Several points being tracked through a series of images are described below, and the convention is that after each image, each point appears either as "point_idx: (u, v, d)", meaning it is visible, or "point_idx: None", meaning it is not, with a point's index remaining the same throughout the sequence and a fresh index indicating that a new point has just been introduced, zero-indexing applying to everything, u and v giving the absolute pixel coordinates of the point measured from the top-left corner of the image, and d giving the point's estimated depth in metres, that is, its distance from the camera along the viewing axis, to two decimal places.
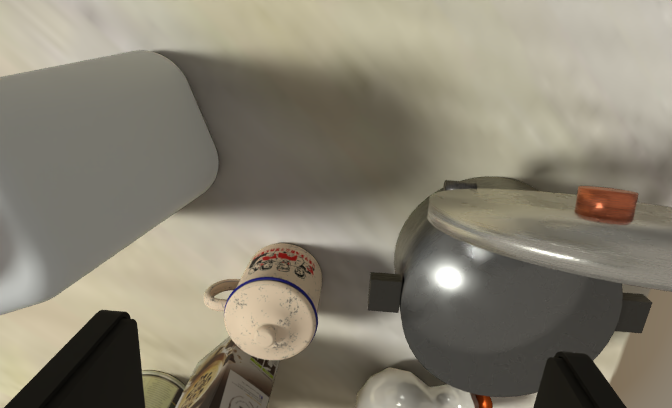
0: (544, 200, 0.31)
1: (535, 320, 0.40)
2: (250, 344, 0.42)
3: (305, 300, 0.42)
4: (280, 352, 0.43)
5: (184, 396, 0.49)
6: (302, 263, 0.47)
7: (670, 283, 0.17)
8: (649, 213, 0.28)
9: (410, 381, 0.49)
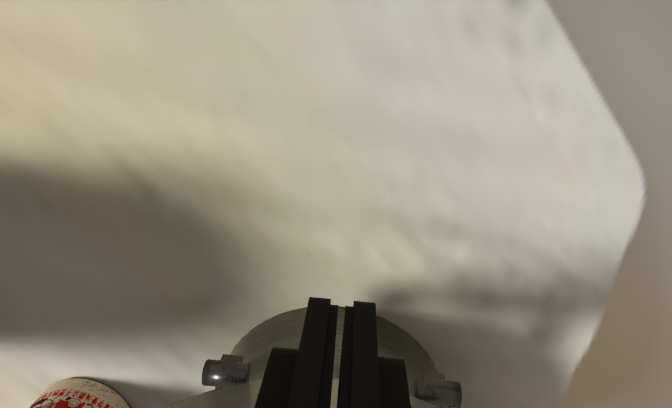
0: None
1: None
2: None
3: None
4: None
5: None
6: None
7: None
8: None
9: None
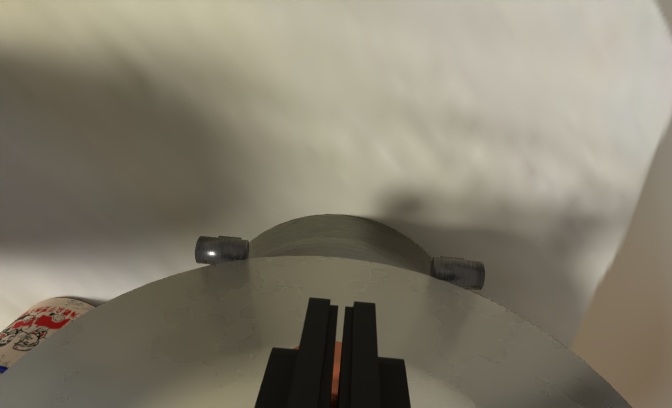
0: (295, 317, 0.18)
1: None
2: None
3: None
4: None
5: None
6: None
7: None
8: (449, 374, 0.15)
9: None
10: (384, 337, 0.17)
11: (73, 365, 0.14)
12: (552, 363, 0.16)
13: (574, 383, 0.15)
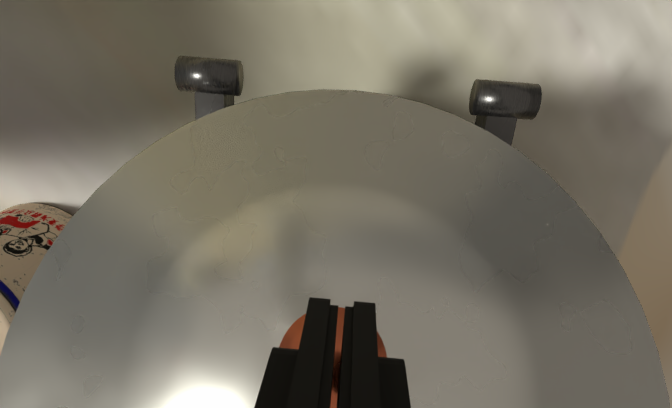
0: (300, 218, 0.15)
1: None
2: None
3: None
4: None
5: None
6: (41, 233, 0.29)
7: None
8: (466, 302, 0.14)
9: None
10: (401, 246, 0.15)
11: (75, 308, 0.14)
12: (587, 278, 0.15)
13: (602, 310, 0.14)
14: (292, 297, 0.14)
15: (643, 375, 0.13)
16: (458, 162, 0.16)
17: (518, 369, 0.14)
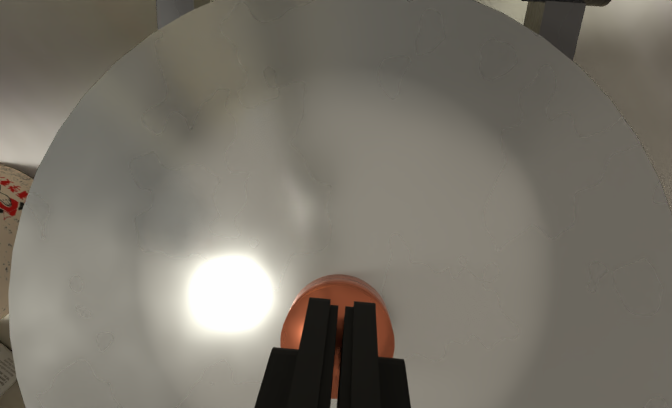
0: (300, 164, 0.13)
1: None
2: None
3: None
4: None
5: None
6: None
7: None
8: (485, 261, 0.13)
9: None
10: (417, 198, 0.13)
11: (70, 268, 0.13)
12: (629, 234, 0.13)
13: (637, 270, 0.13)
14: (295, 256, 0.13)
15: (663, 335, 0.13)
16: (498, 86, 0.13)
17: (531, 329, 0.13)
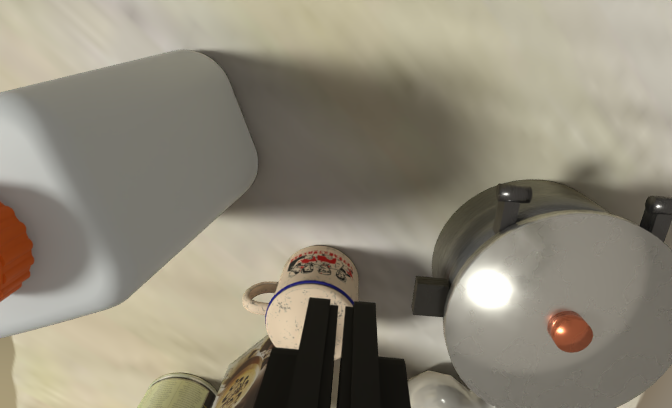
0: (560, 276, 0.36)
1: None
2: (292, 348, 0.42)
3: (349, 304, 0.41)
4: None
5: (219, 400, 0.49)
6: (341, 266, 0.46)
7: None
8: (622, 307, 0.37)
9: (451, 385, 0.49)
10: (601, 287, 0.36)
11: (470, 308, 0.38)
12: None
13: None
14: (553, 305, 0.37)
15: None
16: (637, 251, 0.35)
17: (634, 328, 0.38)
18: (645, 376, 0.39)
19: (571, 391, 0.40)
